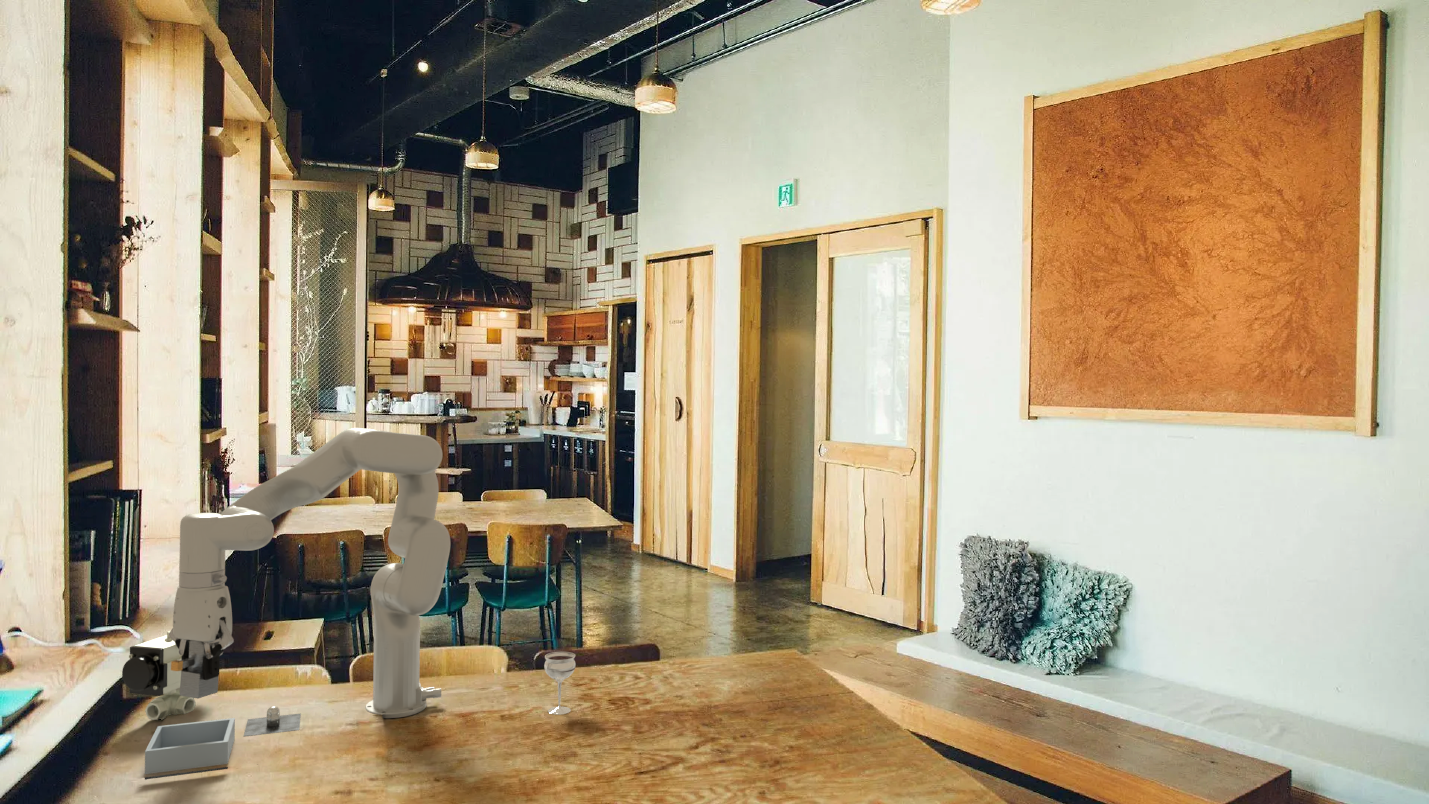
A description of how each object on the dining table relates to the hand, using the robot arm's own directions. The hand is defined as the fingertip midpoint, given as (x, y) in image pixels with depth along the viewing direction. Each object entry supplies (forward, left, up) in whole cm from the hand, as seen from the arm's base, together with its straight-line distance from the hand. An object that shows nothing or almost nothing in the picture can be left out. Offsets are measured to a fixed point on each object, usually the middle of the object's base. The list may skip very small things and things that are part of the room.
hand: (200, 675), depth 172 cm
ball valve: (+8, -27, -16) cm, 32 cm away
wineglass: (-69, -2, -16) cm, 71 cm away
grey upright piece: (+1, +1, -3) cm, 4 cm away
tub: (+1, +1, -15) cm, 15 cm away
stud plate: (-12, -11, -15) cm, 22 cm away
